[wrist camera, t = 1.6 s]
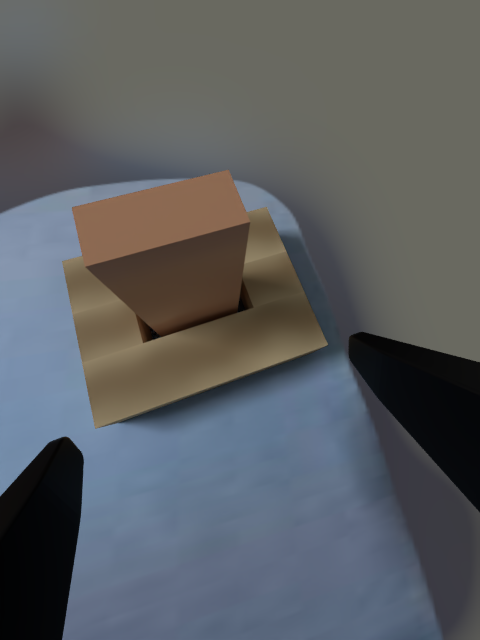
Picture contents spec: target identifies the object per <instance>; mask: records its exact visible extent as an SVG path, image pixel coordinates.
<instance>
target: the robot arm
mask: <svg viewBox="0 0 480 640" xmlns="http://www.w3.org/2000/svg"><path fill="white" fill-rule="evenodd" d="M349 358H350V361H351V362H352V364H353V365H354V366H355V368H356V369H357V370H358V372H359V373H360V375H361V376H362V377H363V379H364V380H365V382H366V383H367V384H368V386H369V387H370V388H371V390H372V391H373V393H374V394H375V395H376V396H377V398H378V399H379V400H380V401H381V402H382V404H383V405H384V406H385V407H386V408H387V409H388V410H389V411H390V413H392V414H393V416H394V417H395V418H396V419H397V420H398V422H399V423H400V424H401V425H402V426H403V427H404V428H405V429H406V430H407V432H408V433H409V434H410V435H411V436H412V437H413V438H414V439H415V440H416V442H417V443H418V444H419V445H420V446H421V447H422V448H423V449H424V451H426V453H427V454H428V455H429V456H430V457H431V458H432V459H433V461H434V462H435V463H436V464H437V465H438V466H439V467H440V468H441V470H442V471H443V472H444V473H445V474H446V475H447V476H448V477H449V478H450V480H451V481H452V482H453V483H454V484H455V485H456V486H457V487H458V488H459V490H460V491H461V492H462V493H463V494H464V495H465V496H466V497H467V499H468V500H469V501H470V502H471V503H472V504H473V505H474V506H475V507H476V509H478V511H479V512H480V362H476V361H472V360H468V359H465V358H461V357H457V356H453V355H449V354H446V353H442V352H438V351H434V350H430V349H426V348H423V347H418V346H415V345H411V344H407V343H403V342H399V341H396V340H392V339H388V338H384V337H380V336H376V335H373V334H369V333H365V332H359V333H356V334H353V335H351V336H350V337H349ZM83 465H84V459H83V455H82V453H81V451H80V450H79V449H78V448H77V446H76V445H75V444H74V443H73V442H72V441H71V439H70V438H68V437H61V438H59V439H56V440H53V441H51V442H49V443H48V444H47V445H46V446H45V447H44V449H43V450H42V451H41V452H40V453H39V454H38V455H37V456H36V457H35V459H34V460H33V461H32V462H31V463H30V464H29V465H28V466H27V467H26V469H25V470H24V471H23V472H22V473H21V474H20V475H19V476H18V477H17V479H16V480H15V481H14V482H13V483H12V484H11V485H10V486H9V487H8V488H7V490H6V491H5V492H4V493H3V494H2V495H1V496H0V640H62V637H63V630H64V624H65V617H66V611H67V604H68V598H69V591H70V585H71V578H72V572H73V565H74V559H75V552H76V546H77V539H78V533H79V526H80V518H81V506H82V486H83Z"/></svg>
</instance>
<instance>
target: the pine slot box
mask: <svg viewBox="0 0 480 640" xmlns="http://www.w3.org/2000/svg"><path fill="white" fill-rule="evenodd" d="M246 213H247V215H248V217H249V220H250V227H249V234H248V241H247V248H246V255H245V262H244V269H243V276H242V283H241V290H240V297H241V300H242V303H243V305H244V308H245V311H242V312H239V313H236V314H232V315H229V316H226V317H223V318H220V319H217V320H214V321H211V322H208V323H205V324H201V325H198V326H195V327H192V328H189V329H186V330H183V331H180V332H177V333H173V334H170V335H167V336H164V337H161V338H158V339H155V340H153V338H152V335H151V331H150V327H149V325H148V324H147V323H146V322H144V321H143V320H142V319H141V318H140V317H139V316H138V315H137V314H136V313H135V312H134V311H132V310H131V309H130V308H129V307H128V306H127V305H126V304H125V303H124V302H123V301H122V300H120V299H119V298H118V297H117V296H116V295H115V294H114V293H113V292H112V291H111V290H110V289H108V288H107V287H106V286H105V285H104V284H103V283H102V282H101V281H100V280H99V279H98V278H97V277H95V276H94V275H93V274H92V273H91V272H90V271H89V270H88V269H87V268H86V267H85V265H84V261H83V256H80V257H77V258H73V259H69V260H65V261H62V263H63V268H64V273H65V278H66V283H67V288H68V293H69V298H70V304H71V309H72V314H73V319H74V324H75V329H76V334H77V339H78V344H79V349H80V354H81V359H82V364H83V369H84V374H85V379H86V384H87V389H88V395H89V400H90V405H91V410H92V415H93V420H94V425H95V429H96V428H100V427H104V426H108V425H112V424H116V423H119V422H122V421H125V420H127V419H130V418H133V417H136V416H139V415H141V414H144V413H147V412H150V411H152V410H155V409H158V408H161V407H163V406H166V405H169V404H172V403H175V402H177V401H180V400H183V399H186V398H188V397H191V396H194V395H197V394H200V393H202V392H205V391H208V390H211V389H213V388H216V387H219V386H222V385H225V384H227V383H230V382H233V381H236V380H238V379H241V378H244V377H247V376H249V375H252V374H255V373H258V372H261V371H263V370H266V369H269V368H272V367H274V366H277V365H280V364H283V363H286V362H288V361H291V360H294V359H297V358H299V357H302V356H305V355H308V354H310V353H313V352H315V351H317V350H319V349H321V348H323V347H325V346H327V345H328V344H327V341H326V339H325V337H324V335H323V332H322V330H321V328H320V326H319V323H318V321H317V319H316V317H315V314H314V312H313V310H312V308H311V306H310V303H309V301H308V299H307V297H306V294H305V292H304V290H303V288H302V285H301V283H300V281H299V279H298V276H297V274H296V272H295V270H294V267H293V265H292V263H291V261H290V258H289V256H288V254H287V252H286V249H285V247H284V245H283V243H282V240H281V238H280V236H279V234H278V231H277V229H276V227H275V225H274V223H273V220H272V218H271V216H270V214H269V211H268V209H267V207H265V208H261V209H257V210H253V211H250V212H246Z"/></svg>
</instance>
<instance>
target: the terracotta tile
mask: <svg viewBox="0 0 480 640" xmlns="http://www.w3.org/2000/svg"><path fill="white" fill-rule="evenodd" d="M72 211H73V215H74V220H75V224H76V229H77V234H78V238H79V243H80V247H81V252H82V256H83V261H84V265H85V267H86V268H87V269H88V270H89V271H90V272H91V273H92V274H93V275H94V276H95V277H97V278H98V279H99V280H100V281H101V282H102V283H103V284H104V285H105V286H106V287H107V288H108V289H110V290H111V291H112V292H113V293H114V294H115V295H116V296H117V297H118V298H119V299H120V300H122V301H123V302H124V303H125V304H126V305H127V306H128V307H129V308H130V309H131V310H132V311H134V312H135V313H136V314H137V315H138V316H139V317H140V318H141V319H142V320H143V321H144V322H146V323H147V324H148V325H149V326H150V327H151V328H152V329H153V330H154V331H155V332H156V333H158V334H159V335H160V336H161V337H164V336H167V335H170V334H173V333H177V332H180V331H183V330H186V329H189V328H192V327H195V326H198V325H201V324H205V323H208V322H211V321H214V320H217V319H220V318H223V317H226V316H229V315H232V314H236V313H237V311H238V304H239V297H240V290H241V283H242V276H243V269H244V262H245V255H246V248H247V241H248V234H249V227H250V220H249V217H248V215H247V213H246V210H245V208H244V205H243V203H242V201H241V198H240V196H239V194H238V191H237V189H236V186H235V184H234V182H233V179H232V177H231V174H230V172H229V170H226V171H222V172H217V173H214V174H209V175H205V176H201V177H196V178H192V179H188V180H184V181H180V182H176V183H171V184H167V185H163V186H159V187H155V188H151V189H146V190H142V191H138V192H134V193H130V194H126V195H121V196H117V197H113V198H109V199H105V200H101V201H96V202H92V203H88V204H84V205H80V206H75V207H72Z"/></svg>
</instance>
